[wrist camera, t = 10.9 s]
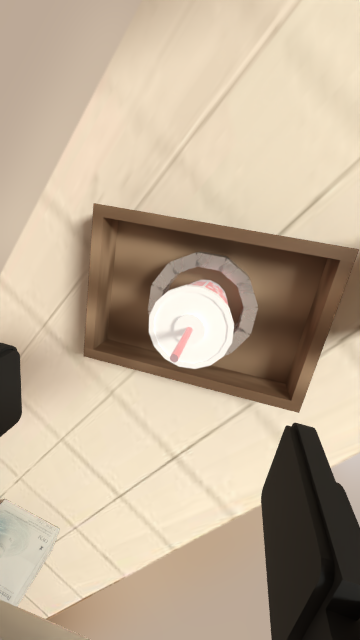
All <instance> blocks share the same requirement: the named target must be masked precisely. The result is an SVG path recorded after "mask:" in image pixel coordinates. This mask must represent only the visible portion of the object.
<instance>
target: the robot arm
mask: <svg viewBox="0 0 360 640" xmlns="http://www.w3.org/2000/svg"><path fill="white" fill-rule="evenodd" d="M21 415H22V404H21V376H20V355H19V353H18V352H17V349H16V347H14V346H11V345H7V344H4V343H0V437H1V436H2V435H3V434H4V433H6V432H7V431H8V430H9V429H10V428H12V427H13V426H14V425H15V424H16V423H17V422H18V421H19V419H20V417H21ZM261 504H262V517H263V530H264V543H265V556H266V570H267V582H268V597H269V608H270V609H269V610H270V623H271V635H272V640H360V527H359V524H358V522H357V519H356V517H355V515H354V512H353V510H352V507H351V505H350V502H349V500H348V497H347V495H346V492H345V490H344V489H343V487H342V486H341V485H340V484H339V483H336V481H335V479H334V476H333V473H332V471H331V468H330V466H329V463H328V460H327V458H326V455H325V453H324V450H323V447H322V445H321V442H320V439H319V437H318V434H317V432H316V430H315V428H313V427H309V426H306V425H302V424H298V423H294V424H293V425H292V427H291V426H286V427H285V429H284V432H283V435H282V437H281V440H280V443H279V446H278V448H277V451H276V454H275V457H274V459H273V462H272V465H271V467H270V470H269V473H268V476H267V478H266V481H265V484H264V486H263V490H262V496H261ZM0 640H91V639H89V638H87V637H84V636H82V635H80V634H77V633H75V632H73V631H71V630H68V629H66V628H64V627H62V626H59V625H57V624H55V623H53V622H50V621H48V620H46V619H44V618H41V617H39V616H37V615H35V614H32V613H30V612H28V611H25V610H23V609H21V608H18V607H16V606H14V605H12V604H9V603H7V602H5V601H2V600H0Z"/></svg>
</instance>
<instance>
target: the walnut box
mask: <svg viewBox="0 0 360 640" xmlns="http://www.w3.org/2000/svg"><path fill="white" fill-rule="evenodd" d="M201 251H202V252H207V253H212V254H218V255H223V256H227V258H228V257H229V258H230V259H231V260H232V261H233V262H235V263H236V264H237V265H238V266H239V267H240V268H241V269H242V270H243V271H245V272H246V273H247V274H248V276H249V278H250V281H251V285H252V288H253V291H254V295H255V298H256V301H257V305H258V310H257V314H256V317H255V321H254V325H253V328H252V332H251V334H250V336H249V337H248V338H247V339H246V340H245V341H244V342H243V343H242V344H241V345H240V346H239V347H237V348H236V349H235V350H234V351H233V352H232V353H230V354H229V355H225V356H223V357H222V358H221V359H219V360H218V361H216V362H215V363H213V364H212V365H210V366H206V367H201V368H197V369H192V368H185V367H179V366H177V365H175V364H173V363H172V362H170V361H168V360H166V359H165V358H164V357H163V356H162V355H161V354H160V353H159V352H158V351H157V349H156V348H155V347H154V345H153V342H152V339H151V337H150V334H149V314H148V312H149V311H148V305H149V298H150V291H151V285H153V284H152V283H153V282H154V281H155V279H156V278H157V277H158V275H159V274H160V273H161V272H162V270H163V269H164V268H165V267H166V265H167V264H168V263H170V262H171V261H174V260H177V259H180V258H182V257H185V256H188V255H190V254H193V253H196V252H201ZM358 251H359V249H354V248H348V247H342V246H336V245H331V244H325V243H319V242H313V241H308V240H302V239H296V238H290V237H285V236H279V235H273V234H267V233H262V232H256V231H250V230H244V229H239V228H233V227H227V226H221V225H216V224H210V223H204V222H198V221H193V220H187V219H181V218H175V217H170V216H164V215H158V214H152V213H147V212H141V211H135V210H129V209H124V208H118V207H112V206H106V205H101V204H95V203H94V206H93V221H92V236H91V252H90V267H89V282H88V298H87V313H86V328H85V343H84V356H86V357H89V358H93V359H97V360H101V361H104V362H108V363H112V364H116V365H120V366H123V367H127V368H131V369H135V370H139V371H142V372H146V373H150V374H154V375H158V376H161V377H165V378H169V379H173V380H177V381H180V382H184V383H188V384H192V385H196V386H199V387H203V388H207V389H211V390H214V391H218V392H222V393H226V394H230V395H233V396H237V397H241V398H245V399H249V400H252V401H256V402H260V403H264V404H268V405H271V406H275V407H279V408H283V409H287V410H290V411H294V412H298V413H299V411H300V409H301V406H302V403H303V400H304V398H305V395H306V392H307V390H308V387H309V384H310V381H311V379H312V376H313V373H314V370H315V368H316V365H317V362H318V360H319V357H320V354H321V351H322V349H323V346H324V343H325V341H326V338H327V335H328V332H329V330H330V327H331V324H332V322H333V319H334V316H335V313H336V311H337V308H338V305H339V303H340V300H341V297H342V294H343V292H344V289H345V286H346V284H347V281H348V278H349V275H350V273H351V270H352V267H353V265H354V262H355V259H356V256H357V254H358ZM227 258H226V259H227ZM199 280H211V281H213V282H215V283H217V284H219V285H220V286H221V288H222V289H223V290H224V291H225V294H226V297H227V301H228V306H229V308H230V312H231V315H232V318H233V322H234V325H235V324H236V323H237V322H238V321H239V317H240V313H241V309H242V306H243V303H242V300H241V297H240V294H239V290H238V287H237V286H236V285H235V284H234V283H233V282H232V281H231V280H230V279H228V278H227V277H226V276H225V275H224V274H223V273H222V272H221V271H217V270H212V269H207V268H202V267H195V268H192V269H189V270H186V271H183V272H181V273H180V274H179V275H178V276H177V278H176V279H175V280H174V281H173V282H172V284H171V285H170V286H169V290H171V289H174V288H177V287H181V286H184V285H189V284H191V283H193V282H196V281H199Z"/></svg>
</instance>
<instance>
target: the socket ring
mask: <svg viewBox="0 0 360 640" xmlns="http://www.w3.org/2000/svg"><path fill="white" fill-rule="evenodd" d="M226 258H227V256H223V255H218V254H212V253H207V252H202V251H201V252H196V253H193V254H190V255H188V256H185V257H182V258H180V259H177V260H174V261H171V262H170V263H168V264H167V265H166V267H165V268H164V269H163V270H162V272H161V273H160V274H159V275H158V277H157V278H156V279H155V281H154V282H153V283H152V284H153V285H151V291H150V298H149V305H148V311H149V312H148V314H149V315H150V313H151V311H152V309H153V307H154V305H155V302H156V301H157V300H158V299H160V298H161V297H162V296H163V295H164V294H165V293H166V292H168V291H169V286H170V285H171V284H172V282H173V281H174V280H175V279H176V278H177V276H178V275H179V274H180V273H181V272H183V271H186V270H189V269H192V268H195V267H202V268H207V269H212V270H217V271H221V272H222V273H223V274H224V275H225V276H226V277H227V278H228V279H230V280H231V281H232V282H233V283H234V284H235V285H236V286H237V287H238V290H239V294H240V297H241V300H242V303H243V306H242V309H241V313H240V317H239V321H238V322H237V323H236V324H235V325H234V331H233V339H232V344H231V345H230V347H229V348H228V350H227V352H226V353H225V355H229V354H230V353H232V352H233V351H234V350H235V349H236V348H237V347H239V346H240V345H241V344H242V343H243V342H244V341H245V340H246V339H247V338H248V337H249V336H250V334H251V332H252V328H253V325H254V321H255V317H256V314H257V310H258V305H257V301H256V298H255V295H254V291H253V288H252V285H251V281H250V278H249V276H248V274H247V273H246V272H245V271H243V270H242V269H241V268H240V267H239V266H238V265H237V264H236V263H235V262H233V261H232V260H231V259H230V258H229V257H228V258H227V259H226ZM225 355H224V356H225Z"/></svg>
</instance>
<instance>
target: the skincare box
mask: <svg viewBox="0 0 360 640" xmlns="http://www.w3.org/2000/svg"><path fill="white" fill-rule="evenodd" d="M58 533H59V528H58V527H56V526H54V525H52V524H50V523H49V522H47V521H45V520H43V519H41V518H39V517H38V516H36V515H34V514H32V513H30V512H29V511H27V510H25V509H23V508H21V507H20V506H18V505H16V504H14V503H12V502H11V501H9V500H7V499H4V501H3V502H2V503H1V504H0V600H2V601H5V602H7V603H9V604H12V605H14V606H16V607H17V606H18V605H19V603H20V602H21V600H22V598H23V597H24V595H25V593H26V592H27V590H28V588H29V587H30V585H31V584H32V582H33V580H34V579H35V577H36V575H37V574H38V572H39V571H40V569H41V567H42V566H43V564H44V562H45V561H46V559H47V557H48V556H49V555H50V553H51V551H52V549H53V546H54V544H55V541H56V538H57V536H58Z"/></svg>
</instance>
